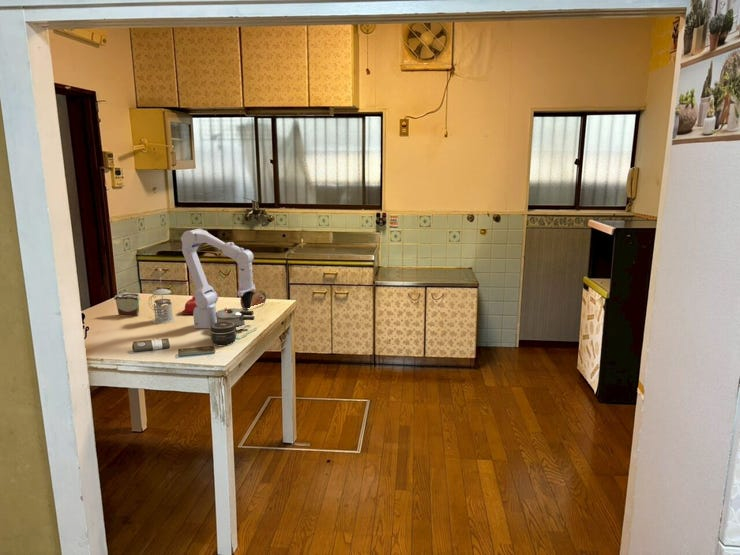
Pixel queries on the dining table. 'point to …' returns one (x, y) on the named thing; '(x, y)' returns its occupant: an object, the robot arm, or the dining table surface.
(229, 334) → the jar
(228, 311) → the cooker lid
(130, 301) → the food container
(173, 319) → the french press
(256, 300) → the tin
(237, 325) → the cooker pot
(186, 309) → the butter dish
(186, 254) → the robot arm
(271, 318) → the dining table surface
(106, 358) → the dining table surface
